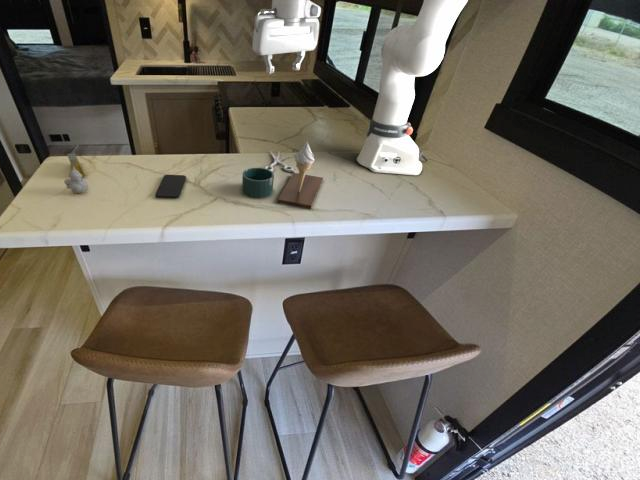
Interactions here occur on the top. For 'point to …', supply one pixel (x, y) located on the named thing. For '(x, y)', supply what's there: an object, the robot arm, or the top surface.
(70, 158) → the medication box
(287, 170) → the scissors
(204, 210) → the top surface
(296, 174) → the board
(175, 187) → the phone
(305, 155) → the ice cream cone
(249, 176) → the cup
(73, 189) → the grey lumpy piece
